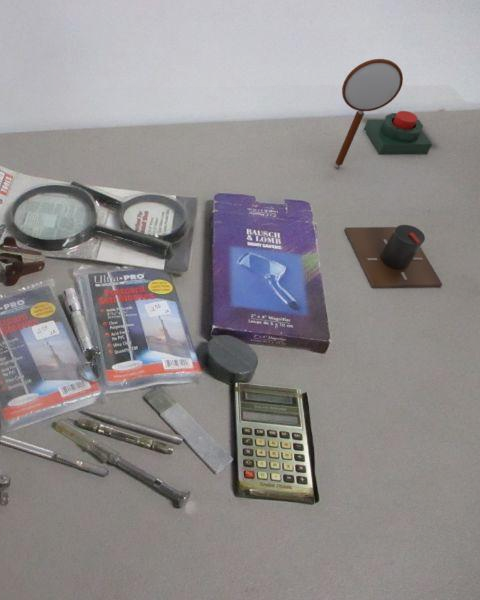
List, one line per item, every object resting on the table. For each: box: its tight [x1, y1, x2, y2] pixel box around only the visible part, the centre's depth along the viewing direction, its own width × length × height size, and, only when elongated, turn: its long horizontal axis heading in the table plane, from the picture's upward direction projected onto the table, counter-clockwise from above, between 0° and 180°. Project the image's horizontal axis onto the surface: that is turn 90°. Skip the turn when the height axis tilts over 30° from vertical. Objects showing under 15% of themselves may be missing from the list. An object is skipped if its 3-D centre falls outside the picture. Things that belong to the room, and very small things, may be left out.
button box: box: [363, 112, 433, 155], centre depth 109 cm, size 9×8×4 cm
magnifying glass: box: [334, 58, 404, 169], centre depth 97 cm, size 9×2×20 cm, turn 81°
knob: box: [381, 224, 426, 269], centre depth 85 cm, size 4×4×5 cm
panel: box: [343, 226, 443, 289], centre depth 88 cm, size 10×12×3 cm
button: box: [393, 110, 419, 130], centre depth 107 cm, size 4×4×2 cm
